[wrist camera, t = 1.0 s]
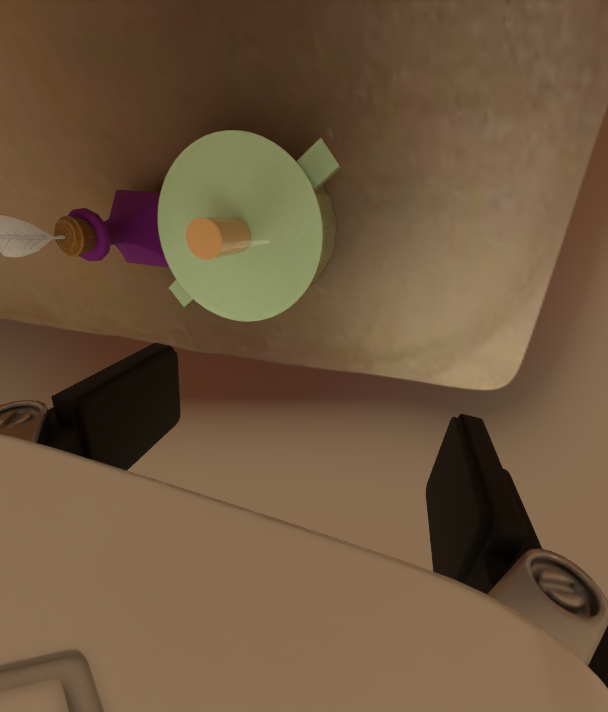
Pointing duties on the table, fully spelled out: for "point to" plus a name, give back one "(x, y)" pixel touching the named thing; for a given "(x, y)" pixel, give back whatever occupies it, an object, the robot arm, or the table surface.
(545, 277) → the table surface
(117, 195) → the purple potion bottle
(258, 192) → the lid
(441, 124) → the table surface
